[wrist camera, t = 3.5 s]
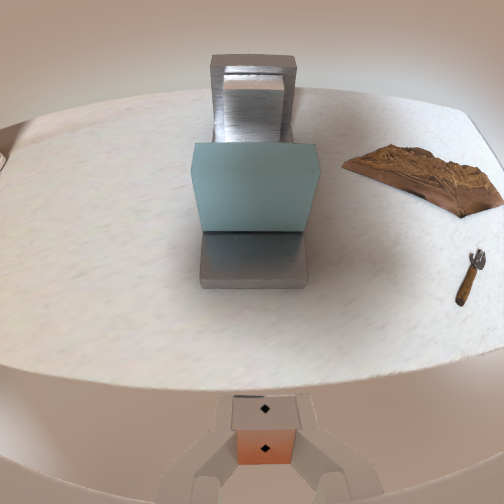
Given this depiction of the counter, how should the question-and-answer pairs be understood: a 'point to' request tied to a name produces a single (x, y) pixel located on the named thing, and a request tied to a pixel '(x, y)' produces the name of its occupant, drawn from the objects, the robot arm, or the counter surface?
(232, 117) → the steel block
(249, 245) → the vise bed
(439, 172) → the wooden fragment
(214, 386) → the counter surface
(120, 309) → the counter surface
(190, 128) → the counter surface
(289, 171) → the slide jaw
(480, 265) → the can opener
